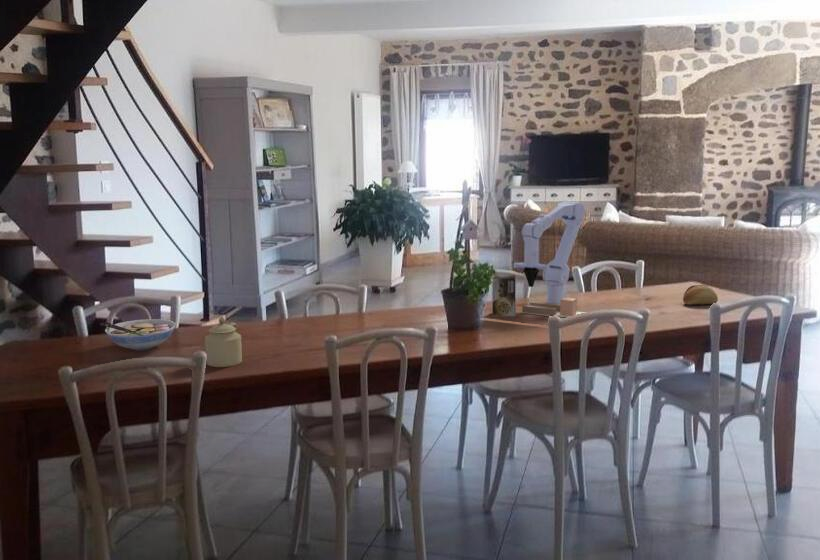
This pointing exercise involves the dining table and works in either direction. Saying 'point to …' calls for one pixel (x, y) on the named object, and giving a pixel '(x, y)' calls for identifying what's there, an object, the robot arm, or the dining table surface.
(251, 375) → the dining table surface
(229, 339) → the sugar bowl
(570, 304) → the block
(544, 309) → the chute board
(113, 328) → the ramen bowl
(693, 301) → the bread roll
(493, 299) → the coffee box
